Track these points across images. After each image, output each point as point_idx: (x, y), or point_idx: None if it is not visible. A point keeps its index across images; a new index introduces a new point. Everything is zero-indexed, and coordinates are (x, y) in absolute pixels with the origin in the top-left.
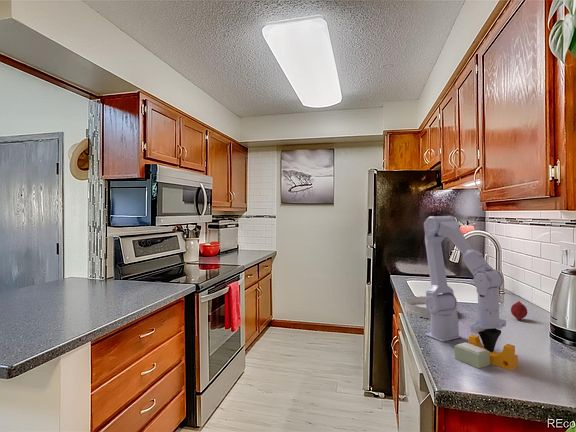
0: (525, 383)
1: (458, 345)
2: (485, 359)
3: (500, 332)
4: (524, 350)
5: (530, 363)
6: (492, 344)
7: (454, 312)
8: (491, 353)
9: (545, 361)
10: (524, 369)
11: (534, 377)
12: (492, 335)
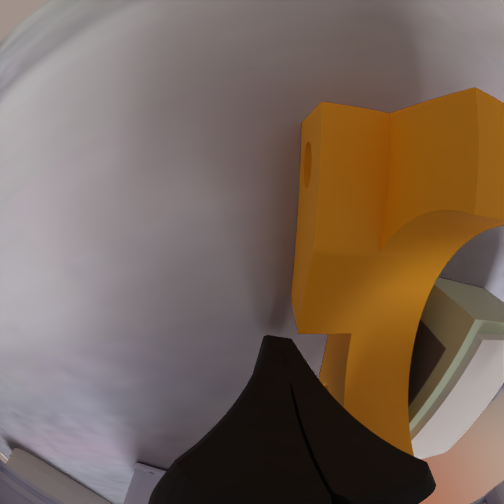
0: (488, 62)
1: (451, 444)
2: (474, 299)
3: (227, 496)
4: (3, 223)
5: (156, 87)
6: (315, 386)
7: (26, 465)
8: (370, 324)
9: (60, 66)
10: (321, 73)
11: (395, 18)
12: (425, 466)
